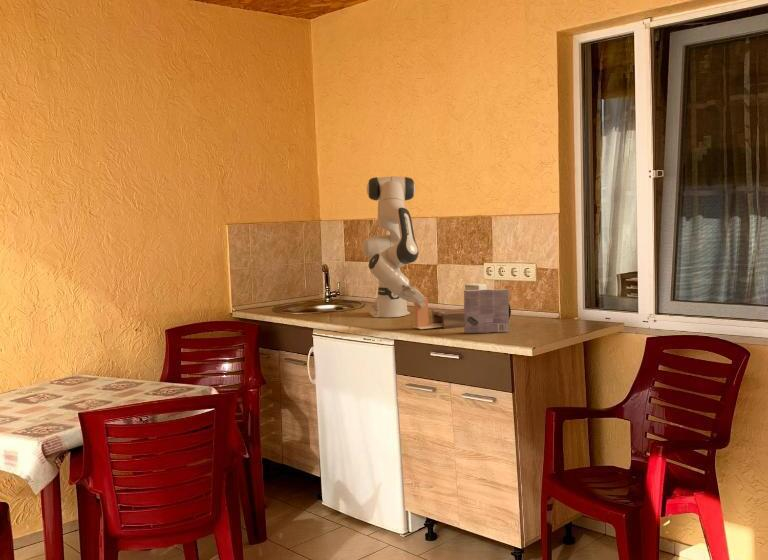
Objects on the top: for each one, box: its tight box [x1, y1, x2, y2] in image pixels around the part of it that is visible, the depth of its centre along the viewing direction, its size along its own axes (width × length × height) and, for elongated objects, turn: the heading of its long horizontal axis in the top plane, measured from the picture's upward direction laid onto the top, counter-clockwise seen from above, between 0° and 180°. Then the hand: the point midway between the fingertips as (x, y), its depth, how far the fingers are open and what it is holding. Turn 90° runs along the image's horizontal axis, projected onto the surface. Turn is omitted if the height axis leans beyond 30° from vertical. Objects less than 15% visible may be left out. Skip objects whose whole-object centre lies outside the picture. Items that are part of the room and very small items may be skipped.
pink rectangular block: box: [413, 297, 443, 330], centre depth 354 cm, size 8×21×13 cm, turn 110°
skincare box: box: [464, 282, 488, 290], centre depth 377 cm, size 8×7×16 cm
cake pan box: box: [463, 288, 512, 334], centre depth 334 cm, size 19×5×18 cm, turn 88°
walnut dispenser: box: [431, 308, 464, 330], centre depth 357 cm, size 13×18×7 cm
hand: (421, 305), depth 351 cm, fingers closed on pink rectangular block, 3 cm apart
